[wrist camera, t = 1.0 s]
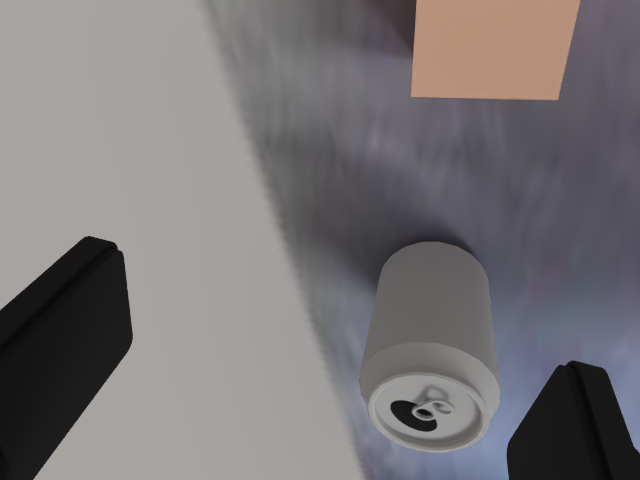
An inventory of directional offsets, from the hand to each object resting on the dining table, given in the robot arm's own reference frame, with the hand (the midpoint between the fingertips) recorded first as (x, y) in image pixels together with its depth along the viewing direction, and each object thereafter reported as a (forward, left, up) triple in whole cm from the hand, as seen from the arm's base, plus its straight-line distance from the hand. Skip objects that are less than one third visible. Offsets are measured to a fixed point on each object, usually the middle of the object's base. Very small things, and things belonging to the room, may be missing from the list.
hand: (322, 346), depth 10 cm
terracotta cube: (-4, -4, -21) cm, 22 cm away
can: (-3, +14, -21) cm, 26 cm away
